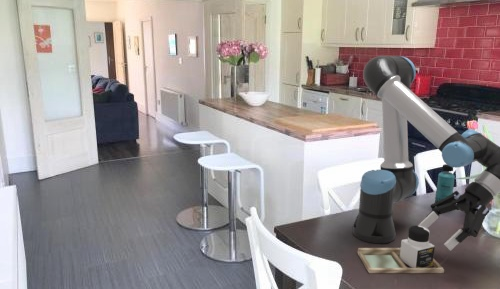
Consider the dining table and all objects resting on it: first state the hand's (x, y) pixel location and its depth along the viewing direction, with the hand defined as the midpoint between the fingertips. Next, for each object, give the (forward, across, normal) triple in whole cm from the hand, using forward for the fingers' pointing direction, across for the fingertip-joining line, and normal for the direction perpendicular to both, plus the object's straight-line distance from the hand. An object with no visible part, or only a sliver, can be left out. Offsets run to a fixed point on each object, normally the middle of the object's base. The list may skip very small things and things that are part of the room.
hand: (433, 237), depth 124 cm
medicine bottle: (+10, +1, -4) cm, 11 cm away
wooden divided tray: (+13, +2, 0) cm, 14 cm away
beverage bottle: (-15, +41, -29) cm, 53 cm away
